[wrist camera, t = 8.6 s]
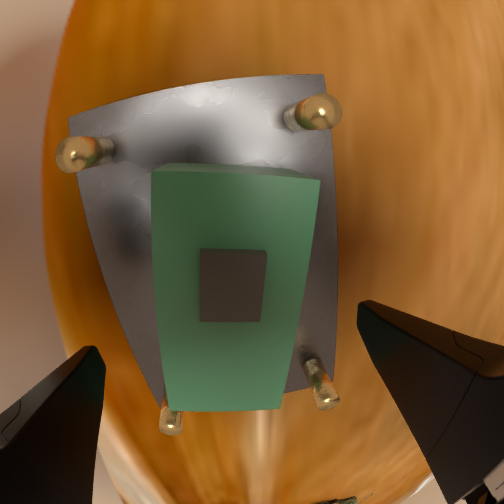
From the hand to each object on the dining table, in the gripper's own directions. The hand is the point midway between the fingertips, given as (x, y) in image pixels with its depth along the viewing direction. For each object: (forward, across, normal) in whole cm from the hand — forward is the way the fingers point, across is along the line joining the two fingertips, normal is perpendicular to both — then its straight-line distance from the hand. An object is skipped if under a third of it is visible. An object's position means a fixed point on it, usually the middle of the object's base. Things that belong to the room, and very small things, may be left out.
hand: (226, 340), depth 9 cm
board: (+4, 0, 0) cm, 5 cm away
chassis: (+6, 0, 0) cm, 6 cm away
